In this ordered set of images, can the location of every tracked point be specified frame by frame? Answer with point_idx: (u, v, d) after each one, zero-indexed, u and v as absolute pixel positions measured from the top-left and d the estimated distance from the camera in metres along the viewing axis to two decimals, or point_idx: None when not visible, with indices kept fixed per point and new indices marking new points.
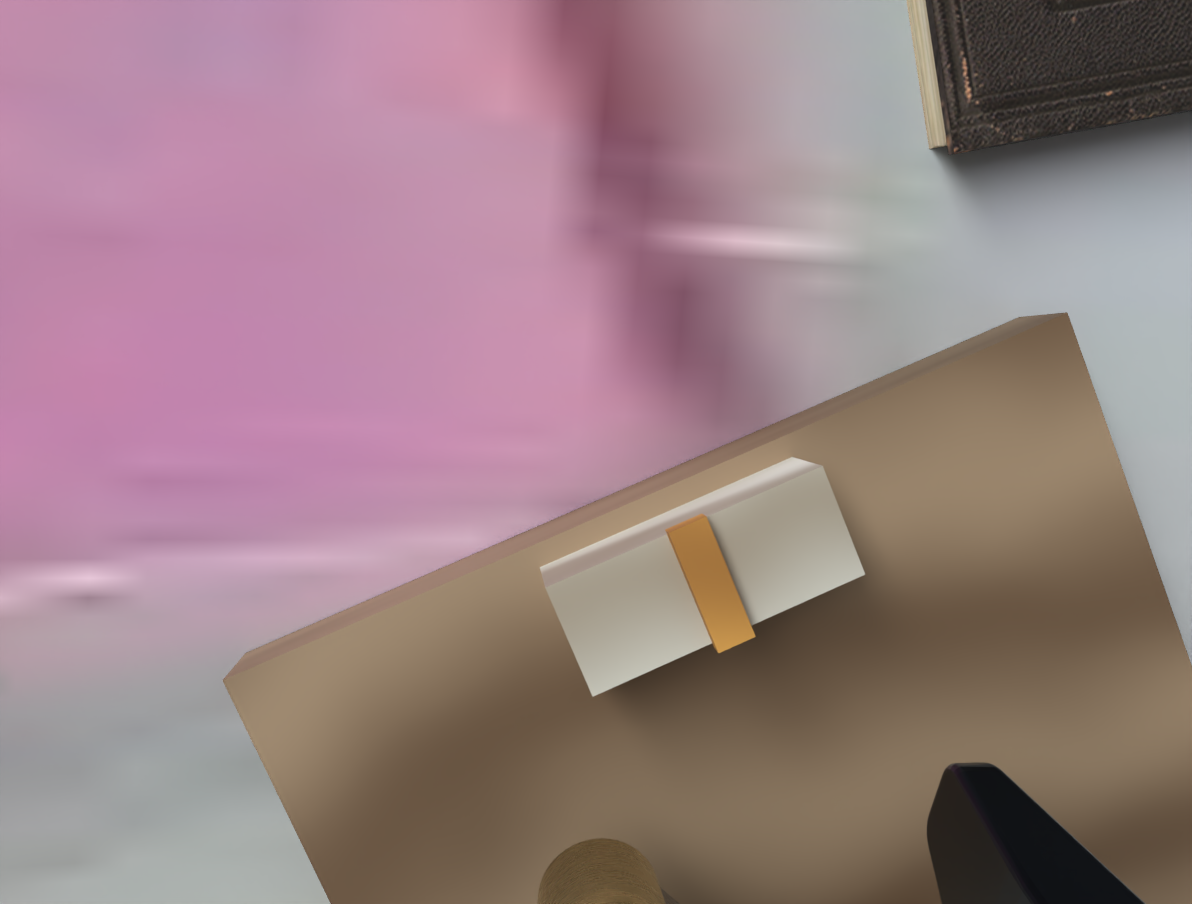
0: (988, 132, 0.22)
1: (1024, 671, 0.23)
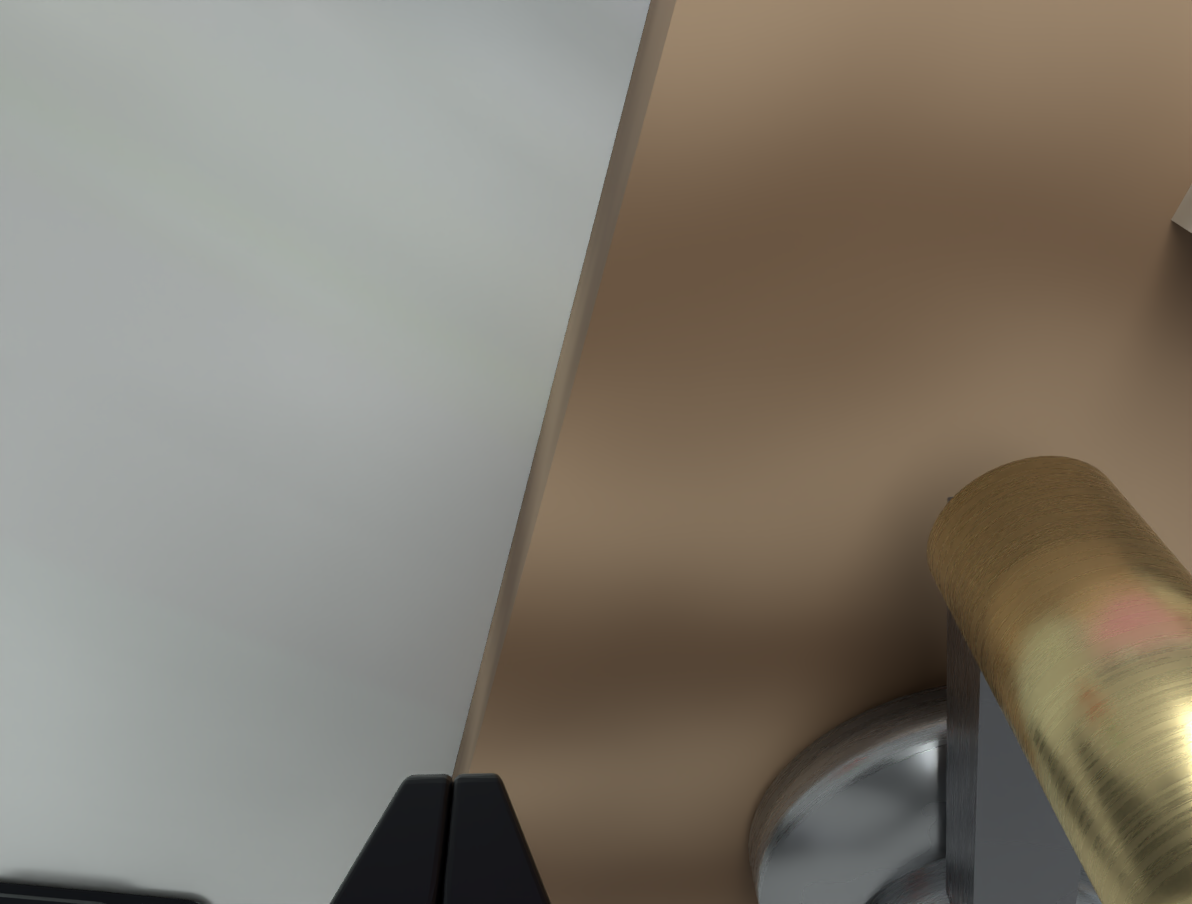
0: None
1: None
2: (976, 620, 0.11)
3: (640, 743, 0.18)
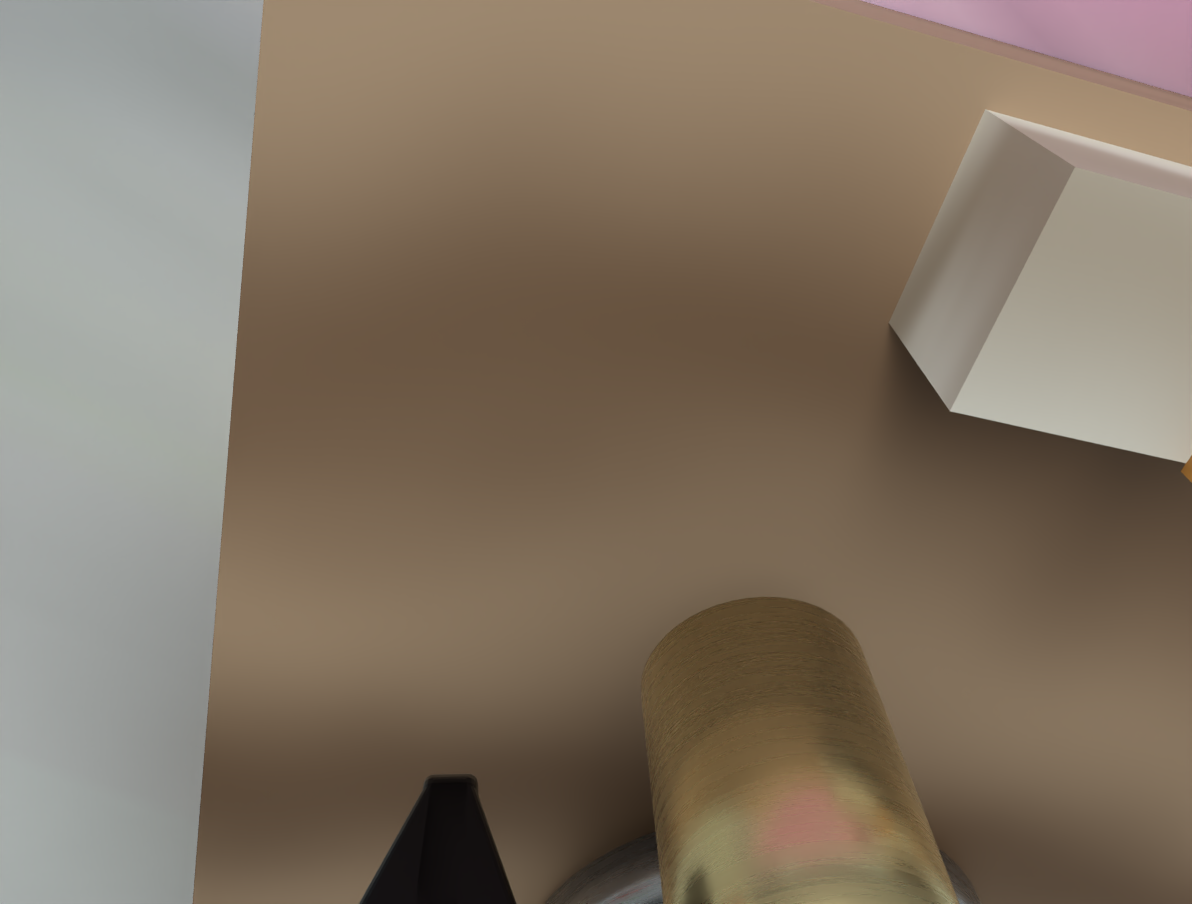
0: None
1: None
2: (655, 795, 0.09)
3: None
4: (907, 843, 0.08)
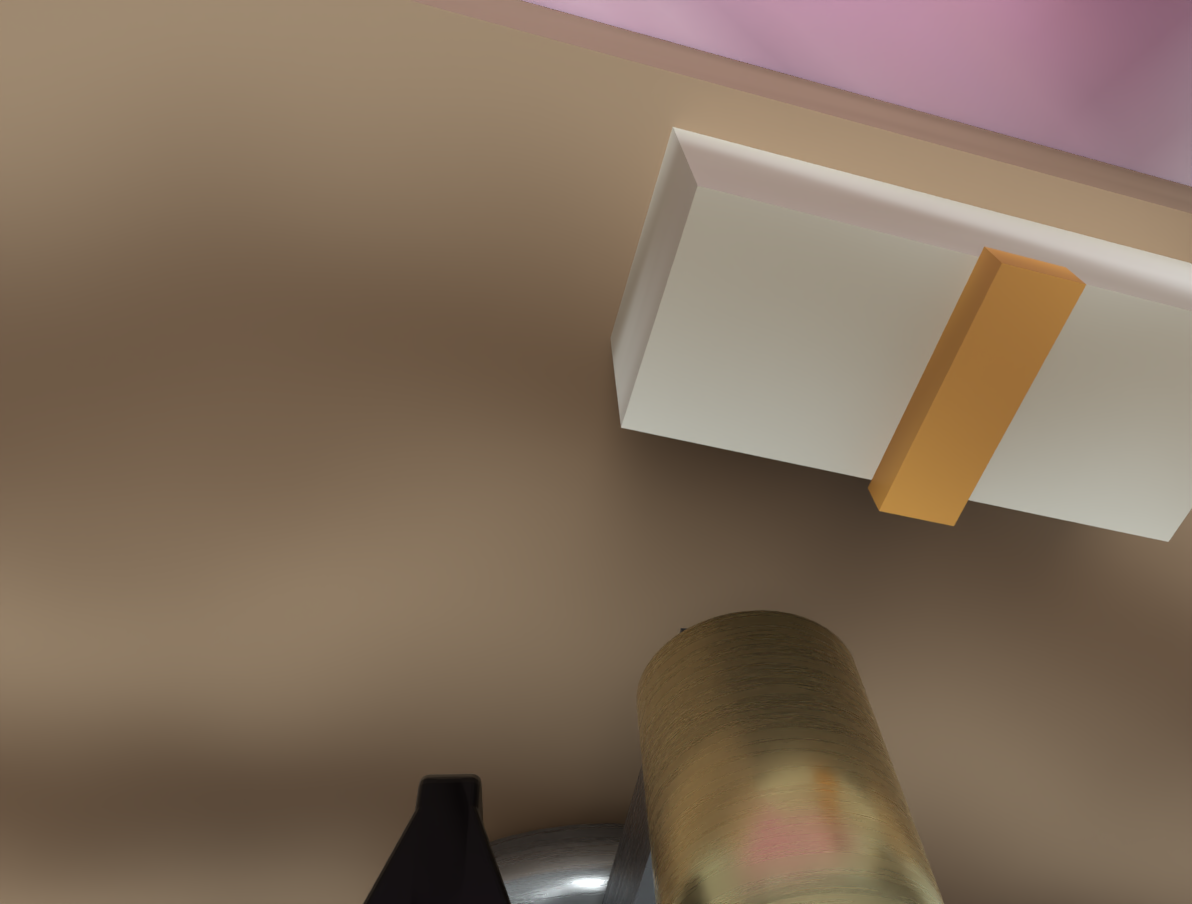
0: None
1: (1125, 728, 0.15)
2: (662, 781, 0.09)
3: (184, 883, 0.16)
4: (924, 871, 0.08)
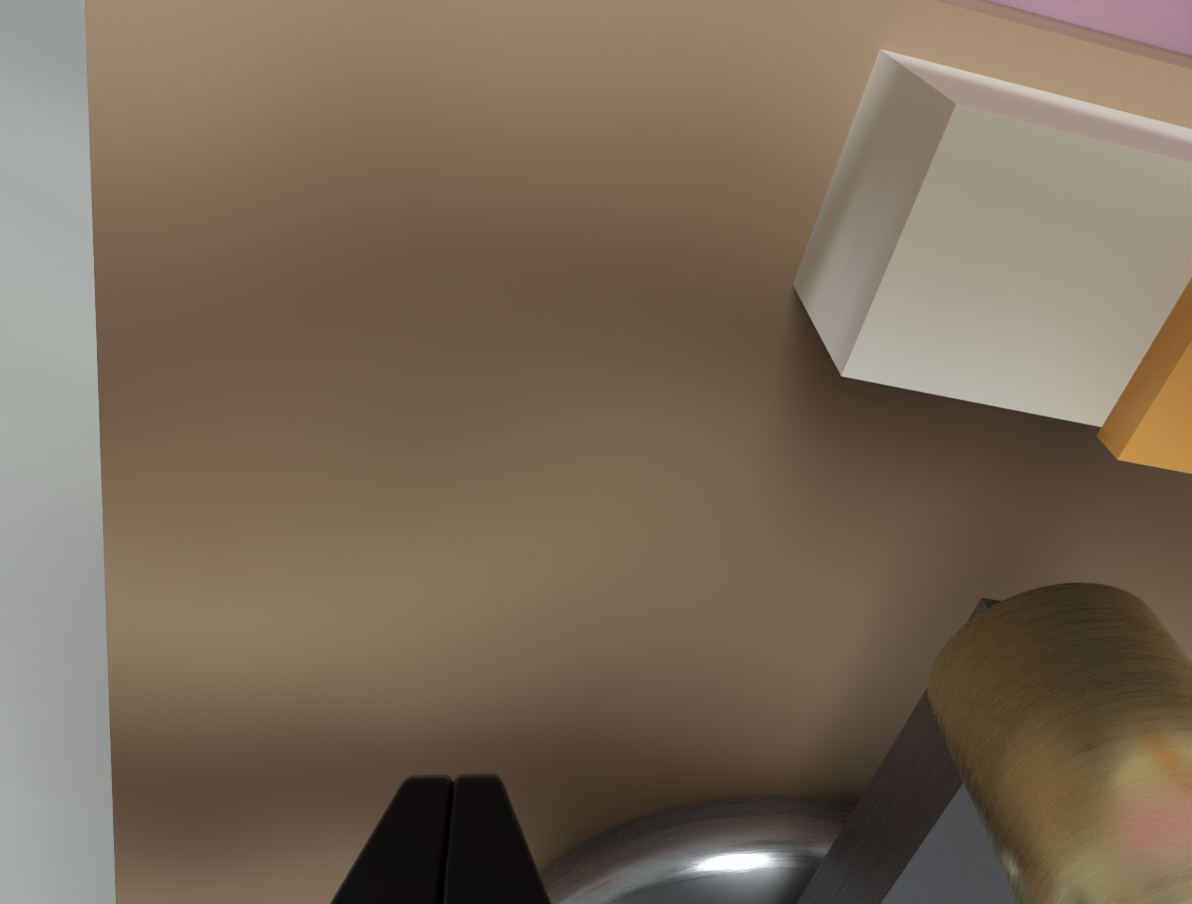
0: None
1: None
2: (1018, 758, 0.09)
3: (307, 867, 0.15)
4: None
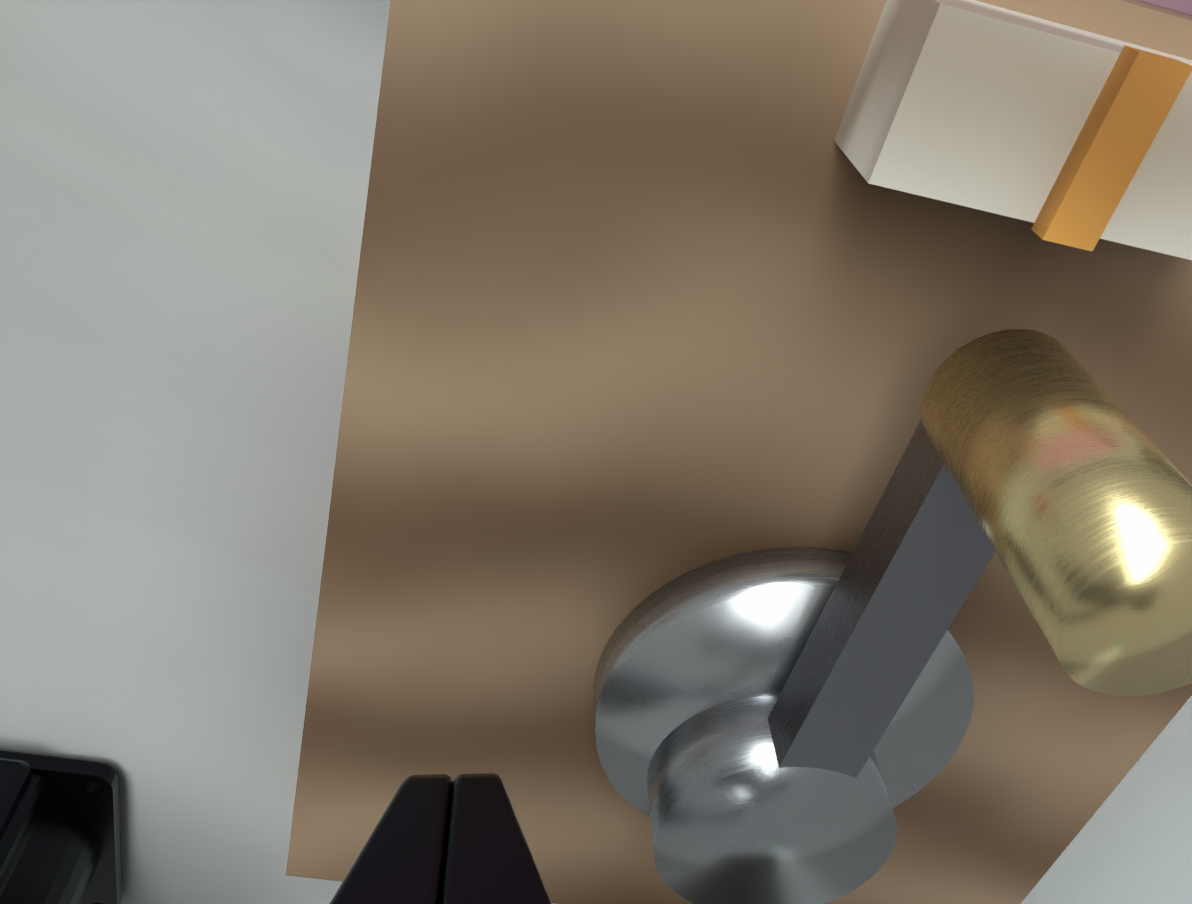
0: None
1: (1189, 464, 0.19)
2: (976, 419, 0.14)
3: (459, 605, 0.21)
4: None
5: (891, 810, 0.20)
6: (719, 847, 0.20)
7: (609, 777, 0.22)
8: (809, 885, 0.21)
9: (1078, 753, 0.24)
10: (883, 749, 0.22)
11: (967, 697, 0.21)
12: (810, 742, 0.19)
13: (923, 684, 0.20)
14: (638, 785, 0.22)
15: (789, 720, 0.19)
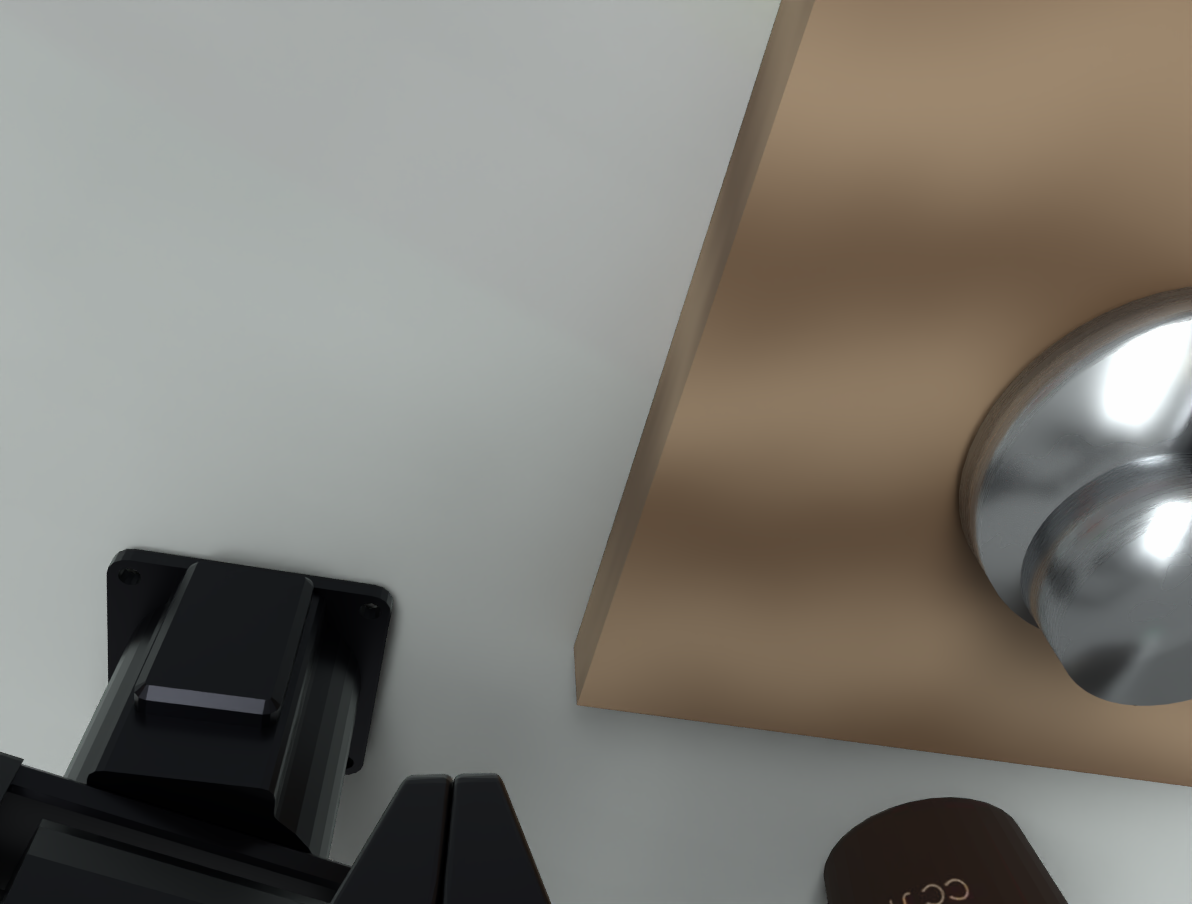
0: None
1: None
2: None
3: (842, 361, 0.19)
4: None
5: None
6: (1133, 615, 0.19)
7: (985, 557, 0.20)
8: None
9: None
10: None
11: None
12: None
13: None
14: (1012, 568, 0.20)
15: None
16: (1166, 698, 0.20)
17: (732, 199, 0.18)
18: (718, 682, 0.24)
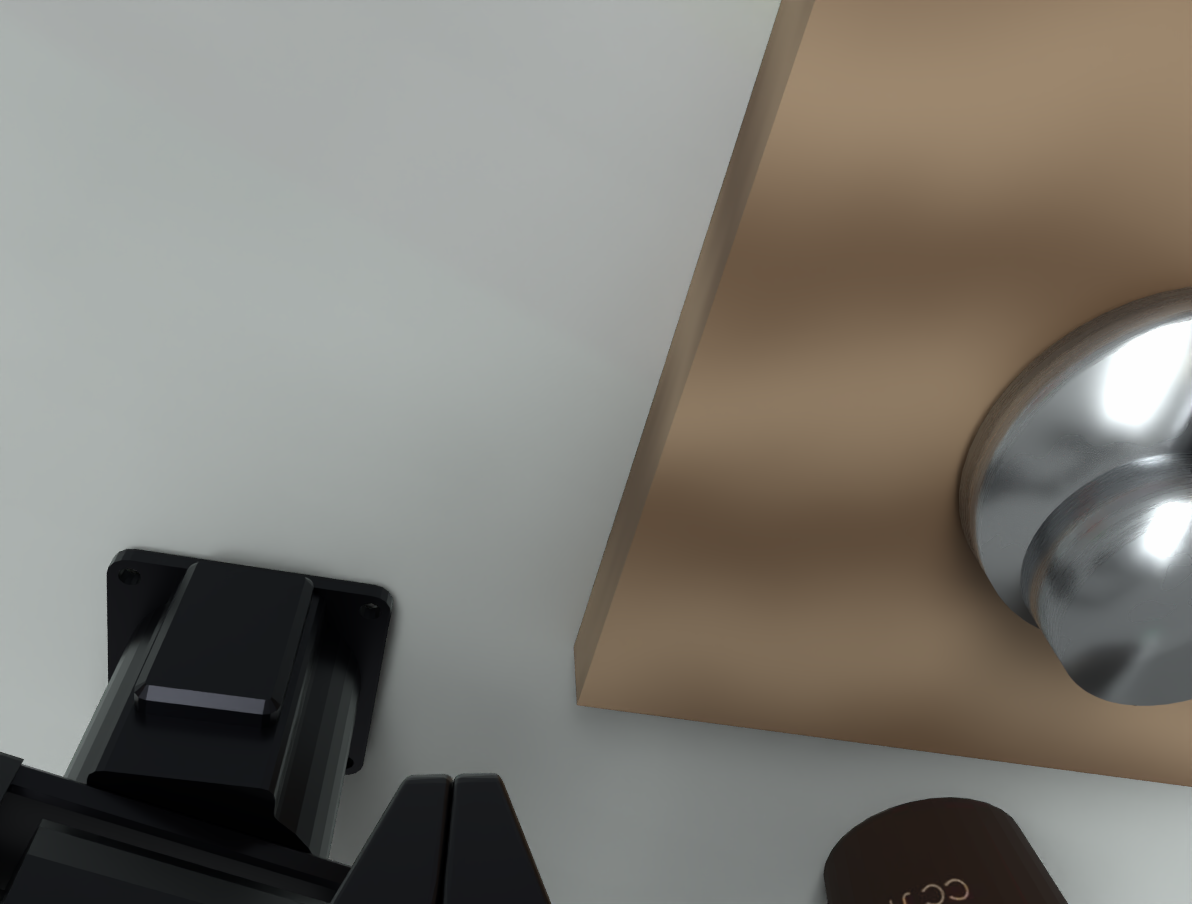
0: None
1: None
2: None
3: (842, 362, 0.19)
4: None
5: None
6: (1133, 615, 0.19)
7: (985, 557, 0.20)
8: None
9: None
10: None
11: None
12: None
13: None
14: (1012, 568, 0.20)
15: None
16: (1166, 698, 0.20)
17: (732, 199, 0.18)
18: (718, 682, 0.24)
